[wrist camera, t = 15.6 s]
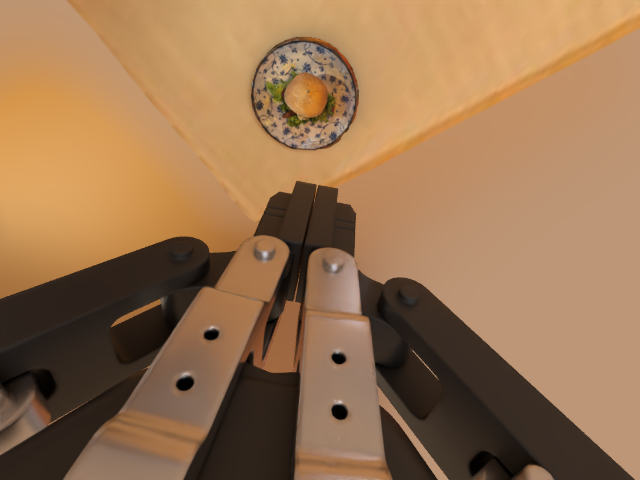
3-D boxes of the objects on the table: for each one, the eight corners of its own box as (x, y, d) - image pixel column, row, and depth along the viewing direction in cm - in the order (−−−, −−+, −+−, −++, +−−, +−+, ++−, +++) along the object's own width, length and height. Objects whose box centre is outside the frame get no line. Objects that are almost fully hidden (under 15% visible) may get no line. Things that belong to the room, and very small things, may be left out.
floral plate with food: (234, 89, 41) (211, 107, 35) (309, 8, 35) (297, 12, 29) (304, 164, 45) (295, 192, 39) (380, 103, 40) (383, 124, 34)
